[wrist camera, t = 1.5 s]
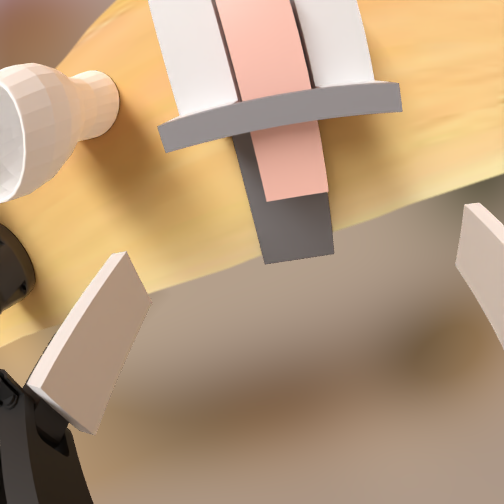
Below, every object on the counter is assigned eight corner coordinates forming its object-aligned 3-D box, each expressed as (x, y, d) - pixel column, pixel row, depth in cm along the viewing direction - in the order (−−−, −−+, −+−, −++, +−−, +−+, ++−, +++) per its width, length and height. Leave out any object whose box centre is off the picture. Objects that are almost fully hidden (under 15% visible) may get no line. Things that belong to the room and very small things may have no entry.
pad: (265, 261, 35) (264, 264, 34) (229, 124, 27) (228, 125, 26) (333, 250, 34) (334, 253, 33) (313, 108, 25) (314, 109, 25)
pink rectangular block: (268, 172, 24) (266, 201, 19) (227, 10, 17) (212, -10, 12) (316, 164, 23) (328, 191, 18) (280, -1, 16) (282, -24, 11)
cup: (53, 68, 23) (-51, 92, 10) (132, 50, 22) (27, 50, 10) (59, 152, 29) (-31, 210, 16) (134, 147, 28) (45, 211, 16)
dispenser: (212, 118, 26) (165, 153, 15) (181, 8, 20) (115, -28, 9) (347, 94, 24) (402, 111, 13) (319, -19, 18) (351, -79, 7)
